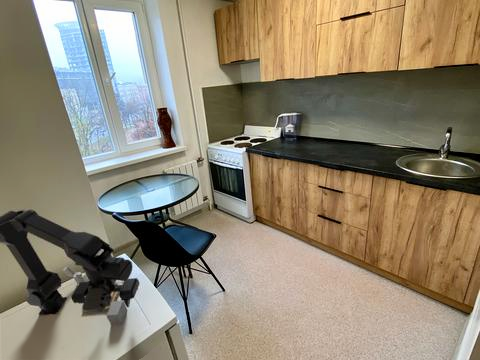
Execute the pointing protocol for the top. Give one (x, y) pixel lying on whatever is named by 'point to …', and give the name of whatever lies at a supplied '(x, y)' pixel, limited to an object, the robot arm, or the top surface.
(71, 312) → the top surface
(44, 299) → the robot arm
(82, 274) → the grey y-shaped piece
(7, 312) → the top surface
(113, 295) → the wooden slotted rack
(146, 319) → the top surface
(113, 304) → the plug block
